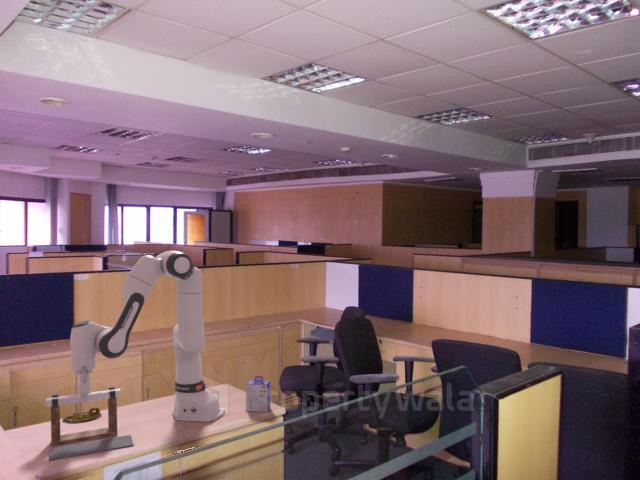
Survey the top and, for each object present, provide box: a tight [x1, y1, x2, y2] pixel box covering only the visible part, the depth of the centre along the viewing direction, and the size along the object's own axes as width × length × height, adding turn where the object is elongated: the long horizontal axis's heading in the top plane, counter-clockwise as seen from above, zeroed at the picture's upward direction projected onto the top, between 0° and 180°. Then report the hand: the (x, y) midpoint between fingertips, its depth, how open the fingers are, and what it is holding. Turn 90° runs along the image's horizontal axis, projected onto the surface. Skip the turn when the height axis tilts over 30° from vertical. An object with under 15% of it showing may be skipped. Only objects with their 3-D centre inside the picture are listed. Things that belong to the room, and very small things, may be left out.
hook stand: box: [50, 386, 119, 448], centre depth 200 cm, size 23×6×18 cm, turn 116°
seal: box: [62, 407, 102, 424], centre depth 220 cm, size 9×5×15 cm
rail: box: [45, 387, 122, 408], centre depth 200 cm, size 26×3×2 cm, turn 116°
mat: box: [48, 434, 134, 462], centre depth 191 cm, size 28×10×1 cm, turn 116°
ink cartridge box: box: [245, 375, 271, 413], centre depth 229 cm, size 10×6×14 cm, turn 81°
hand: (84, 399), depth 200 cm, fingers closed on rail, 3 cm apart
